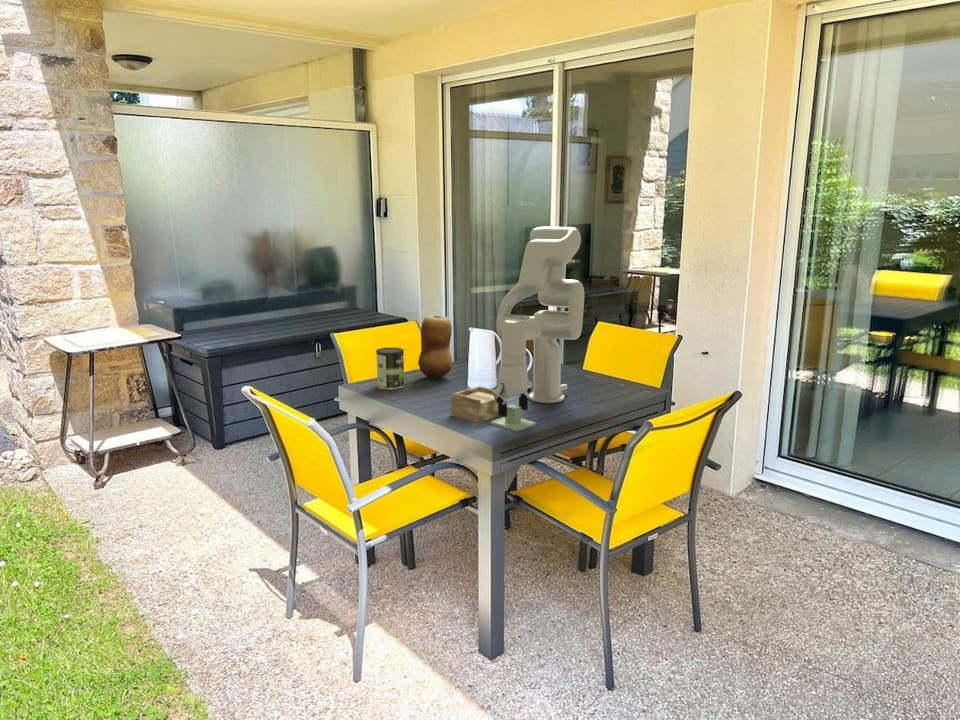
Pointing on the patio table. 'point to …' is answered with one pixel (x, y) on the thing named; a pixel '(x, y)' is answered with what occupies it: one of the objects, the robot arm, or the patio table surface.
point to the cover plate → (513, 426)
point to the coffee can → (390, 368)
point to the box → (474, 404)
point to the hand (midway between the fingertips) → (513, 412)
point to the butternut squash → (435, 347)
